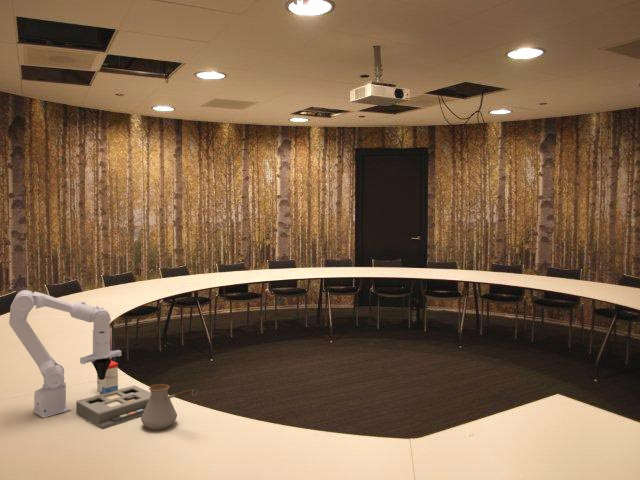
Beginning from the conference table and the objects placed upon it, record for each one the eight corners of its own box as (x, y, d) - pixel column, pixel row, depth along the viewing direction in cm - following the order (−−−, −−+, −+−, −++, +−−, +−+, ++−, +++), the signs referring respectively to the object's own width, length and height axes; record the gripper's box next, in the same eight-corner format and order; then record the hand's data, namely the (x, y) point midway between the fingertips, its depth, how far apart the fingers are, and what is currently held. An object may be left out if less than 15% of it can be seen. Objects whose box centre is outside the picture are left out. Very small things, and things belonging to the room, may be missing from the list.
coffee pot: (133, 427, 167) (133, 382, 166) (159, 415, 177) (159, 373, 176) (182, 442, 157) (183, 395, 156) (207, 429, 167) (207, 384, 166)
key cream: (111, 412, 173) (111, 408, 173) (104, 408, 176) (104, 404, 176) (123, 408, 176) (123, 404, 176) (116, 405, 179) (116, 401, 179)
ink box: (118, 392, 198) (118, 355, 197) (105, 395, 195) (105, 358, 194) (108, 387, 204) (108, 351, 203) (96, 390, 200) (96, 353, 200)
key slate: (127, 402, 184) (127, 398, 184) (121, 399, 187) (121, 395, 187) (138, 399, 188) (138, 395, 188) (132, 396, 191) (132, 392, 191)
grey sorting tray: (102, 428, 165) (102, 415, 165) (76, 413, 177) (76, 401, 177) (162, 409, 182) (162, 397, 182) (134, 396, 194) (134, 385, 194)
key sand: (110, 404, 179) (110, 400, 179) (104, 401, 182) (104, 397, 182) (122, 401, 183) (122, 397, 183) (116, 398, 186) (116, 394, 186)
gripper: (86, 348, 177) (86, 386, 178) (125, 340, 188) (125, 376, 189) (77, 344, 181) (77, 381, 182) (115, 337, 192) (115, 372, 193)
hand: (101, 379), depth 186 cm, fingers closed
